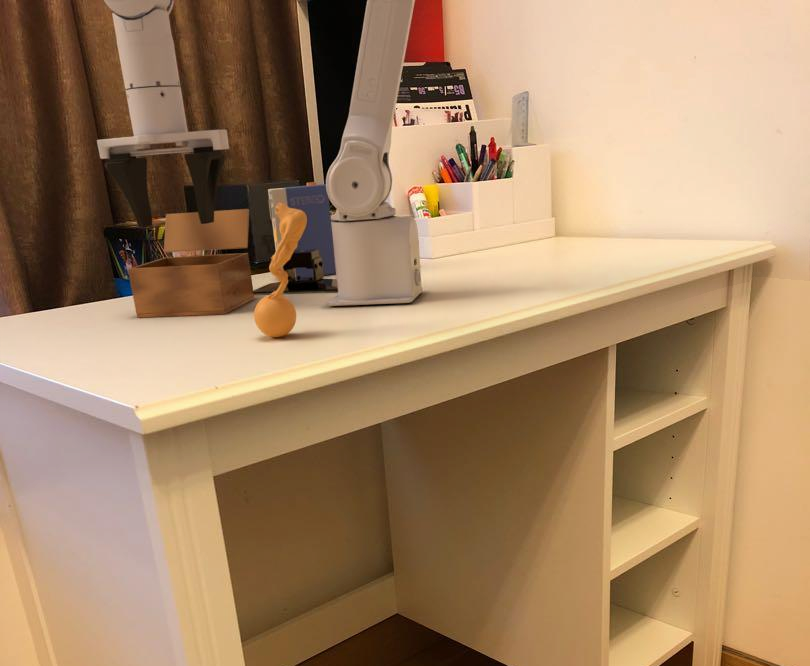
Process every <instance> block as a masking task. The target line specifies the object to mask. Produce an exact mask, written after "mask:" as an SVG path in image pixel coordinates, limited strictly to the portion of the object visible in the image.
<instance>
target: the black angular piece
mask: <svg viewBox="0 0 810 666" xmlns="http://www.w3.org/2000/svg"><path fill="white" fill-rule="evenodd" d="M305 267H306V269H313V273H314V277H301V276H297V277H295V270H294V269H295V268H305ZM283 269H284V271H286V272H287V274H288V284H287V286H286V288H285V289H284V291H283V294H308V293H309V294H310V293H338V285H337V278H324V276H325V275H323V262H322V257H319V250H318V249H314V250H306V251H303V250H294V252H293V254H292V256H291V258H290V260H288V261H287V262H286V263H285V265H284V266H283ZM280 284H281V282H280V281H276V282H270V283H267V284H266V285H262V286H261V287H258V288H257V289H253V292H254V295H271V294H272V293H273V292H274V291H276V290H277V289H278V288H279V286H280Z"/></svg>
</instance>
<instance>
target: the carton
mask: <svg viewBox="0 0 810 666" xmlns="http://www.w3.org/2000/svg"><path fill="white" fill-rule="evenodd" d="M249 257H250V256H249V252H243V253H241V252H240V253H223V254H222V253H221V254H208V255H207V254H202V255H185V256H184V255H183V256H165V257H161V258H158V259H156V260H153V261H149V262H146V263H143V264H139V265H137V266H136V265H135V266H133V267H130V268H128V269H127V272H128V277H129V282H130V289H131V293H132V298H133V303H134V309H135V314H136V318H137V319H138V318H160V317H162V318H163V317H185V316H186V317H188V316H189V317H190V316H210V315H211V316H212V315H215V316H216V315H226V314H228V313H230V312H232V311H234V310H236V309H238V308H240V307H241V306H243V305H245V304H247V303H250V302H251V301H253V300H255V294H254V292H253V291H254V285H253V279H252V278H253V277H252V272H251V264H250V258H249Z"/></svg>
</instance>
